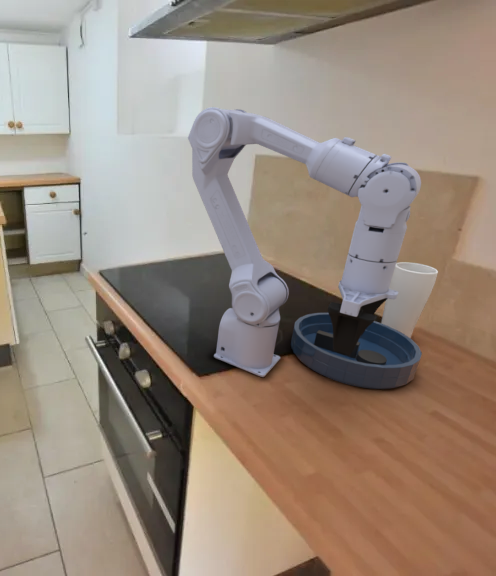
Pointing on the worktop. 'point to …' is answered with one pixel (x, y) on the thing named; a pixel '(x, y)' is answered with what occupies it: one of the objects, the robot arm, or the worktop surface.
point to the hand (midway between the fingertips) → (348, 342)
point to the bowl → (347, 369)
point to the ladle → (363, 356)
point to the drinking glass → (408, 295)
